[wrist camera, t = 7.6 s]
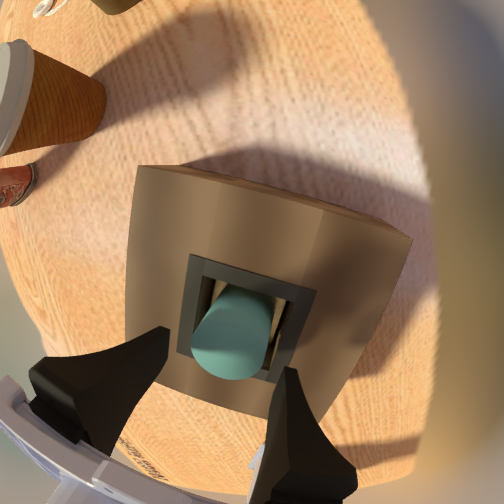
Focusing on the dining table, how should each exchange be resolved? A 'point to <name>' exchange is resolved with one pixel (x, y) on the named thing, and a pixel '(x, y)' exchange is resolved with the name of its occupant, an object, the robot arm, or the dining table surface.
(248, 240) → the block
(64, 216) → the dining table surface
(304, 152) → the dining table surface
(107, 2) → the olive green pawn
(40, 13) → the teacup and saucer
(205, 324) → the peg
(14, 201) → the lighter
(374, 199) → the dining table surface
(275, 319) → the beige square pad
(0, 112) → the disposable coffee cup
